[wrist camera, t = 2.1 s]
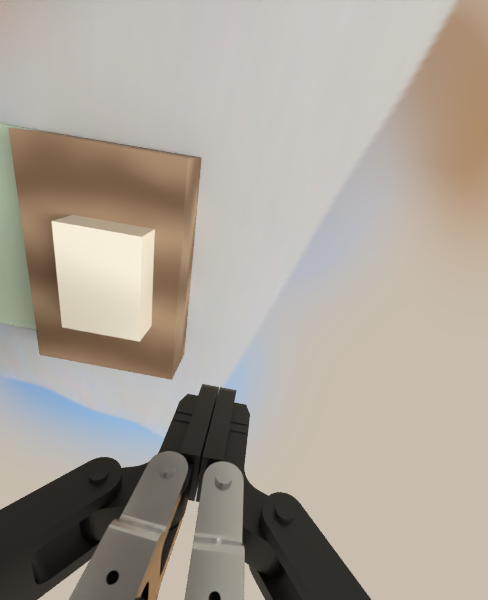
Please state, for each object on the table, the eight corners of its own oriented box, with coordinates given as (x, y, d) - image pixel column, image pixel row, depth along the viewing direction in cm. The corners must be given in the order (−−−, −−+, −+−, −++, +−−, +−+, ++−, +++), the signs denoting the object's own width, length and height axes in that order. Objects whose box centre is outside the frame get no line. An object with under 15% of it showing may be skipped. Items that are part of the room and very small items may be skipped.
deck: (48, 131, 25) (8, 127, 21) (201, 157, 24) (187, 157, 21) (66, 332, 32) (39, 354, 29) (184, 354, 32) (171, 379, 28)
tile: (73, 214, 23) (51, 220, 21) (154, 229, 23) (141, 236, 21) (79, 313, 26) (61, 327, 24) (151, 326, 26) (139, 341, 24)
